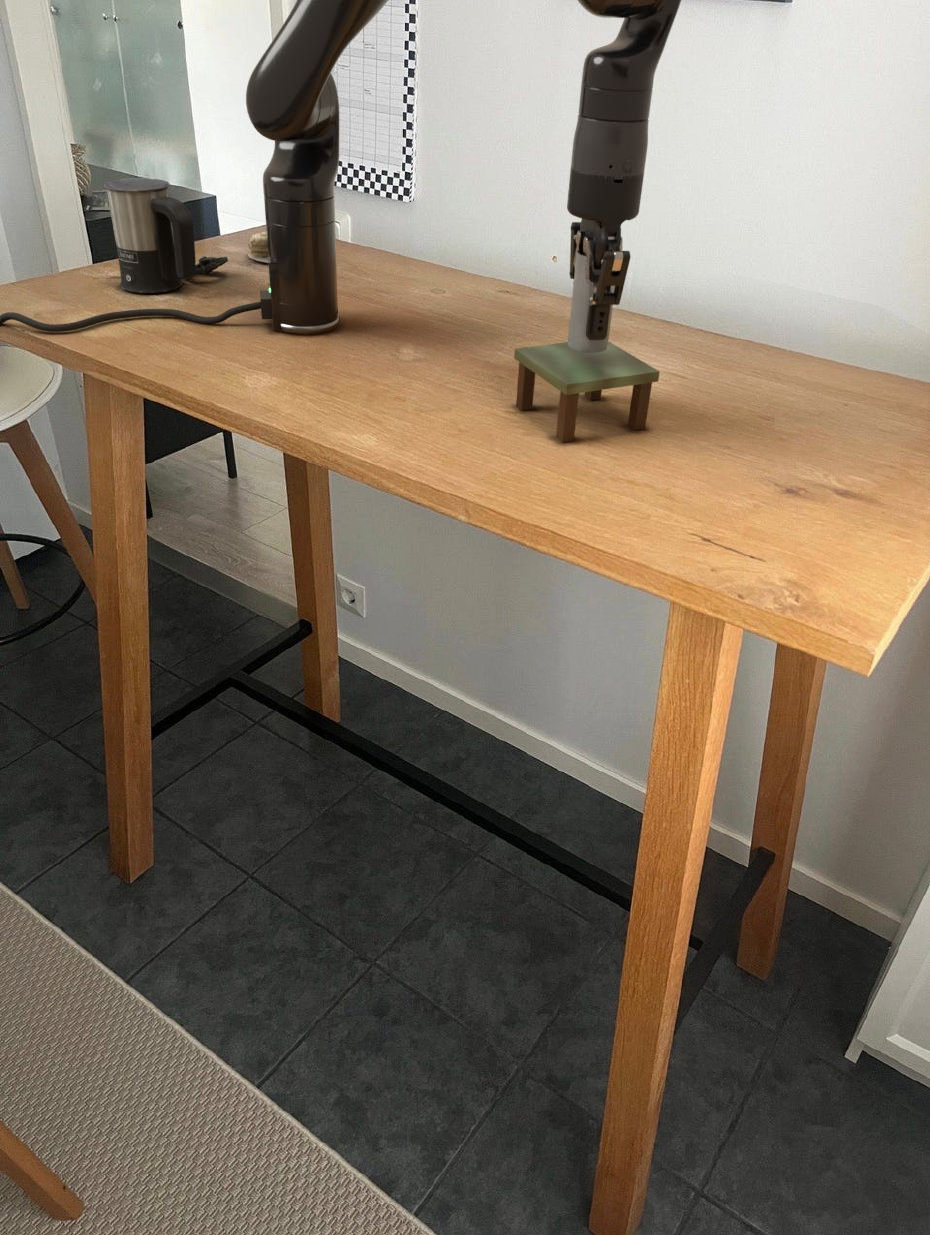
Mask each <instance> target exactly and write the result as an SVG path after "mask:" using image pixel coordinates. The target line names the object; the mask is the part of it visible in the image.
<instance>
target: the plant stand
mask: <svg viewBox="0 0 930 1235" xmlns="http://www.w3.org/2000/svg"><path fill="white" fill-rule="evenodd" d="M513 358H514V360H516V361H517V362H518V373H517V386H516V387H517V388H516V401H515V407H516V409H519V411H521V412H524V411H531V410H533V405H534V394H535V381H536V375H537V376H538V377H540V378H541V379H542V380H544V381H545V382H547V383H548V384H550V385H551V386H553V387H554V388H555V389H557V390H558V391H559V392H560V393H559V401H558V402H559V403H558V412H557V421H556V432H555V438H556V440H558V441H559V442H561V443H569V442H574V441H575V434H576V426H577V425H576V424H577V416H578V406H579V396H580V394H582V393H583V394H584V397H585V398H586V399H588V400H589V401H597V400H601V399H602V393H603V392H602V391H603V390H610V389H616V388H617V389H618V388H623V387H624V388H625V387H631V386H632V391H631V399H630V405H629V411H628V412H629V413H628V419H627V427H629V428H630V429H632V430H633V431H639V430H640V431H641V430H645V429H646V424H647V418H648V412H649V406H650V400H651V393H652V386H653V383H657V382H659V380H660V379H659V378H660V373H661V371H660V370H658V369H657V368H655V367H653V366H652V365H650V364H648V363H646V362H645V361H643V360H641V359H639V358H638V357H636V356H634V355H633V354H631V353H629V352H627V351H626V350H624V349H623V348H621V347H619V346H617V345H615V343H612V342H610V341H609V340H608V346H607V349H606V350H604V351H602V352H596V353H587V352H580V351H576V350H573V349H571V348H570V347H569V346H568V341H567V342H565V341H564V342H557V343H549V344H541V345H533V346H526V347H517V348H514V355H513Z"/></svg>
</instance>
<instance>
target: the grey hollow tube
mask: <svg viewBox="0 0 930 1235" xmlns="http://www.w3.org/2000/svg"><path fill="white" fill-rule="evenodd" d="M585 266H586V255H584V254H582V251H581V250H578V251H577V255H576V265H575V274H574V279H573V282H574V284H573V283H572V284H573V286H572V293H571V294H572V295H571V303H570V304H571V305H570V315H569V324H568V333H567V334H568V335H567V342H568V346H569V347H570V348H571V349H573V350H576V351H580V352H587V353H596V352H602V351H604V350H606V349H607V346H608V341H609V339H610V330H611V322H612V317H613V316H612V314H613V308H614V305H613V306H610V313H609V321H608V329H607V336H606V338H605V339H604V340H589V339H588V338H587V337H586V326H587V317H588V308H589V304H590V303H589V289H590V285H589V283H587V282H586V280H585ZM593 271H594V273H595V274H597V275H600V271H601V270H596V269H594V267H593ZM597 285H598V284H597ZM604 293H607V287H606V288H605V292H604Z"/></svg>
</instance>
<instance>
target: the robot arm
mask: <svg viewBox="0 0 930 1235" xmlns="http://www.w3.org/2000/svg"><path fill="white" fill-rule="evenodd" d="M389 1H390V0H296V2H295V3H294V6H293V7H292V9H291V11H290V12H289V14H288V15H287V17H286V18H285V21H284V23H283V24H282V25H281V27H280V28H279V30H278V31H277V33H276V35H275V36H274V38H273V40H272V41H271V42H270V44H269V46H268V47H267V48H266V50H265V51H264V53H263V54H262V56H261V57H260V59H259V60H258V62H257V63H256V65H255V66H254V69H253V70H252V71H251V74H250V76H249V79H248V82H247V86H246V91H245V105H246V111H247V116H248V118H249V120H250V123H251V124H252V126H253V128H254V129H255V130H256V131H257V133H259V134H260V135H261V136H262V137H264V138H266V139H267V140H270V141H274V147H273V148H274V149H273V153H272V156H271V159H270V161H269V163H268V164H267V166H266V168H265V169H264V172H263V175H262V189H263V200H264V215H265V216H264V217H265V228H266V229H265V230H266V231H265V232H267V247H268V262H267V264H268V278H269V288H268V289H267V290H266V289H265V290H259V301H255V302H250V303H246V304H242V305H238V306H234V307H232V308H229V309H227V310H225V311H224V312H222V313H220V314H219V315H215V316H202V315H197V314H194V313H191V312H187V311H184V310H180V309H171V308H141V309H129V310H120V311H112V312H106V313H102V314H97V315H94V316H91V317H88V318H85V319H81V320H77V321H73V322H67V323H57V324H54V323H53V324H51V323H45V322H42V321H41V322H40V321H39V320H35V319H32V318H30V317H28V316H26V315H23V314H22V313H18V312H13V311H11V312H10V311H9V312H8V311H7V312H4V313H2V314H0V326H2V325H3V324H5V323H6V322H7V321H11V320H13V321H17V322H19V323H22V324H24V325H26V326H28V327H30V328H33V329H35V330H39V331H43V332H48V333H63V332H70V331H77V330H81V329H84V328H87V327H90V326H91V327H92V326H94V325H97V324H100V323H105V322H109V321H113V320H120V319H129V318H141V317H174V318H179V319H182V320H187V321H190V322H193V323H196V324H202V325H215V324H220V323H222V322H225V321H227V320H228V319H230V318H232V317H234V316H237V315H239V314H242V313H243V314H244V313H247V312H251V311H257V310H260V315H261V320H271V326H272V331H273V332H284V333H289V334H296V335H314V334H322V333H326V332H330V331H333V330H335V329H336V328H337V327H339V325H340V316H339V303H338V270H337V269H338V268H337V238H336V236H337V235H336V206H335V205H336V204H335V181H336V178H337V175H338V171H339V166H340V99H339V92H338V88H337V84H336V82H335V78H334V75H333V74H332V72H333V69H334V67H335V65H336V64H337V62H338V60H339V59H340V57H341V56H342V54H343V53H344V51H345V50H346V49H347V47H348V46H349V45H350V43H351V42H353V40H354V39H355V38H356V37H357V36H358V35H359V33H361V32H362V31H363V29H365V28H366V26H367V25H369V23H370V22H371V21H372V20H373V19H374V18H375V17H376V16H377V15H378V13H380V11H381V10H382V9H383V8H384V7H385V6H386V5H387V3H388V2H389ZM577 2H578V4H580V6H581V7H582V8H583V9H584V10H585V11H587V13H589V14H591V15H593V16H595V17H598V18H603V19H623V21H622V24H621V26H620V29H619V31H618V33H617V35H616V38H615V39H614V40H613V41H612V42H610V43H608V44H606V45H603V46H600V47H597V48H594V49H592V50H591V51H589V52H588V53H587V54H586V56H585V58H584V62H583V67H582V73H581V82H580V94H579V101H578V102H579V104H578V113H577V114H578V115H577V121H576V126H575V130H574V135H573V141H572V150H571V162H570V171H569V182H568V193H567V202H566V203H567V204H566V205H567V206H566V209H567V212H568V213H569V214H570V215H572V216H573V217H576V218H578V219H581V220H580V221H572V222H571V225H570V249H569V250H570V253H569V256H570V257H569V277H570V279H571V280H574V274H575V265H576V255H577V251H578V250H581V251H582V254H584V255H586V266H585V280H586V282H587V283H589V285H590V289H589V303H590V304H589V308H588V317H587V326H586V337H587V338H588V339H589V340H604V339H605V338H606V336H607V329H608V321H609V313H610V306H613V307H614V306H619V305H620V303H621V299H622V295H623V291H624V287H625V283H626V278H627V274H628V270H629V266H630V261H631V252H630V251H629V250H623V236H622V224H623V223H624V222H626V221H631V220H633V219H636V218H637V216H639V213H640V207H641V199H642V191H643V186H644V185H643V184H644V177H645V169H646V162H647V156H648V155H647V154H648V147H649V121H650V120H649V118H650V115H651V114H650V113H651V106H652V100H653V99H652V97H653V91H654V90H653V88H654V79H655V74H656V70H657V68H658V65H659V62H660V60H661V57H662V55H663V53H664V50H665V47H666V45H667V42H668V39H669V36H670V33H671V31H672V28H673V25H674V22H675V19H676V17H677V15H678V11H679V8H680V5H681V2H682V0H577ZM593 267H594V269H596V270H601V271H600V275H597V274H595V273H594V271H593ZM572 284H574V281H573V283H572ZM597 284H598V285H597ZM606 287H607V293H604V292H605V288H606Z"/></svg>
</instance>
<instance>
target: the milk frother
mask: <svg viewBox="0 0 930 1235" xmlns="http://www.w3.org/2000/svg"><path fill="white" fill-rule="evenodd" d="M103 186H104V188H105V189H106V193H107V199H108V205H109V211H110V217H111V222H112V229H113V234H114V239H115V245H116V251H117V258H118V266H119V272H120V281H121V282H120V287H121V289H122V290H124V291H126V292H130V293H135V294H158V293H166V292H170V291H175V290H177V289H180V288H181V287H182V286H183V281H182V280H188V279H190V278H193V277H196V276H198V275H200V274H203V273H204V275H205V276H208V275H209V274H211V273H212V272H213V271H215V270H217V269H218V268H219V267H222V266H223V265H225V264H226V263H228V262H229V259H228V257H227V256H221V257H215V256H208V257H207V256H202V257H200V258H198V262H196V261H197V260H196V245H195V229H194V222H193V221H194V220H193V217H192V214H191V213H190V211H189V209H188V208H187V206H186V205H185V204H184V203H183V202H182V200H181V201H180V200H179V199H177V198H174V197H170V194H169V193H170V192H169V187H170V186H171V184H170V182H169V181H167V180H165V179H158V178H150V177H149V178H147V177H142V178H141V177H136V178H135V177H134V178H133V177H131V178H121V179H116V180H109V181H107V182H105V183H104V184H103Z"/></svg>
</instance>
